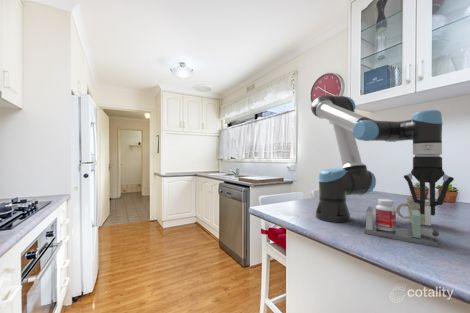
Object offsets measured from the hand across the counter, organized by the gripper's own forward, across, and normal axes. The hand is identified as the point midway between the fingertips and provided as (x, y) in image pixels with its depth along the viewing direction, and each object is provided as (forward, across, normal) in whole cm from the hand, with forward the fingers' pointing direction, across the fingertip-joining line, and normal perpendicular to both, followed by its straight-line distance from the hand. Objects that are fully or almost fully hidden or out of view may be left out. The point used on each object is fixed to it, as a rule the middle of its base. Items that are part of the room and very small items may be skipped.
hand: (427, 224), depth 73 cm
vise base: (+6, -8, 0) cm, 10 cm away
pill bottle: (+4, -12, 0) cm, 13 cm away
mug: (+6, -3, +23) cm, 24 cm away
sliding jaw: (+4, -1, 0) cm, 4 cm away
